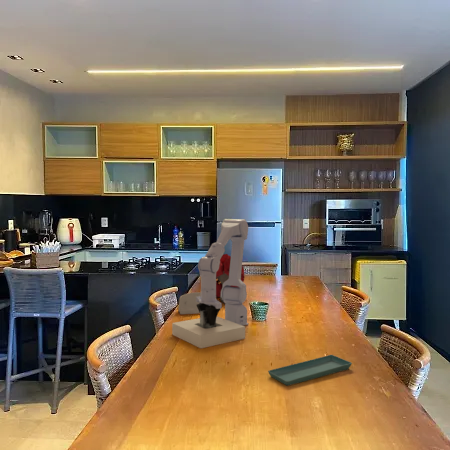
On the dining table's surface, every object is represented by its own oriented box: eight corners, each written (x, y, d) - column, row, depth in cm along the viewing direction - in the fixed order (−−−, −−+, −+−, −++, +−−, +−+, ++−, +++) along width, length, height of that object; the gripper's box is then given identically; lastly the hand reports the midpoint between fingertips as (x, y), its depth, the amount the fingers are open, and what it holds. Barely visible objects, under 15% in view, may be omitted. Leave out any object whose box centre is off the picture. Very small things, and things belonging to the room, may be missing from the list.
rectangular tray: (286, 388, 126) (287, 380, 126) (267, 377, 134) (267, 369, 134) (352, 370, 140) (352, 363, 140) (331, 361, 148) (331, 354, 148)
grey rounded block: (179, 314, 206) (178, 292, 209) (178, 315, 210) (177, 293, 213) (215, 312, 210) (213, 290, 212) (213, 313, 214) (212, 292, 217)
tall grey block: (219, 336, 172) (219, 310, 171) (205, 339, 168) (206, 312, 168) (210, 332, 177) (210, 307, 176) (197, 335, 173) (197, 309, 173)
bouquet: (248, 313, 234) (243, 276, 259) (247, 278, 221) (242, 243, 247) (206, 316, 234) (205, 279, 259) (203, 281, 221) (202, 245, 246)
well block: (245, 338, 170) (245, 326, 170) (200, 348, 159) (200, 335, 158) (214, 326, 187) (214, 315, 186) (172, 334, 175) (172, 323, 174)
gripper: (189, 286, 175) (189, 321, 176) (210, 292, 163) (210, 329, 164) (204, 284, 179) (204, 318, 180) (226, 290, 168) (226, 326, 168)
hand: (208, 323), depth 172 cm, fingers open, 4 cm apart
